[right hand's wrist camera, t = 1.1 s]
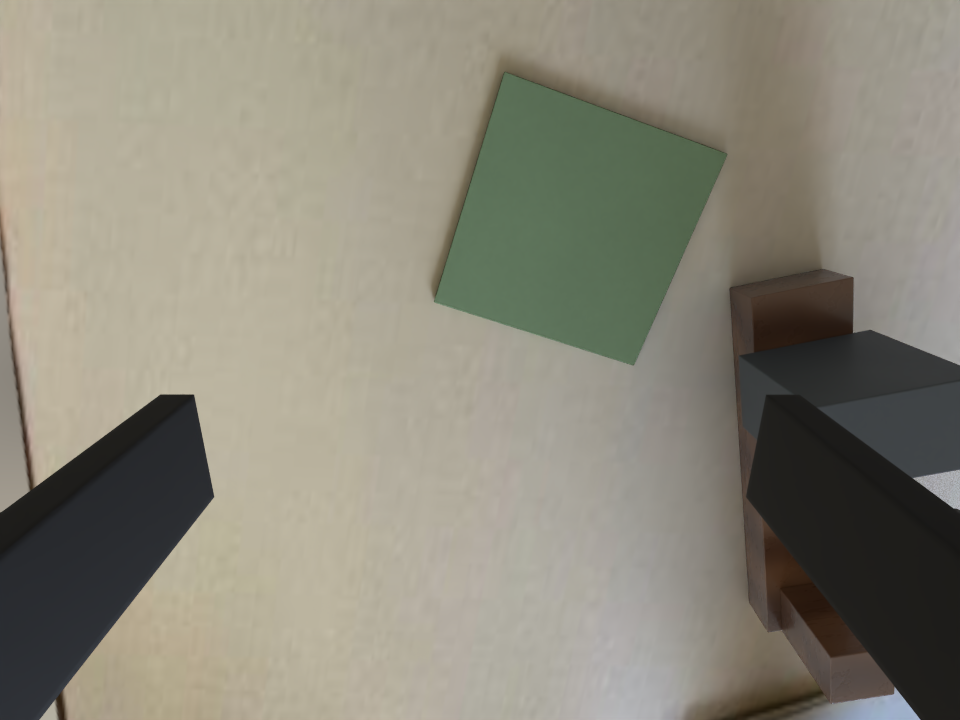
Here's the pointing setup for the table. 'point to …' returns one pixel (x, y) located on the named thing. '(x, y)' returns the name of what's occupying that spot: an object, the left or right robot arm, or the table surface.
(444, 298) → the green mat
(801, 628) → the base plank
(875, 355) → the slate block
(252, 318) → the table surface
